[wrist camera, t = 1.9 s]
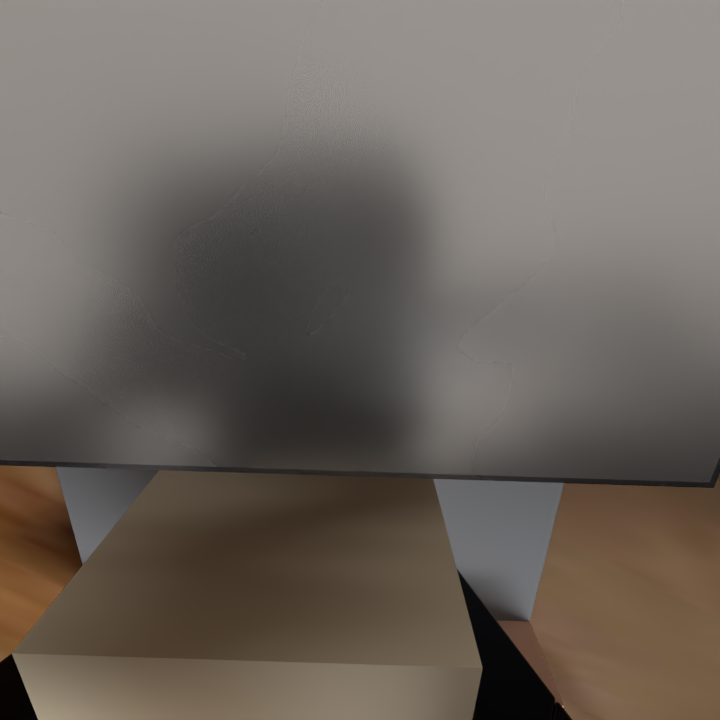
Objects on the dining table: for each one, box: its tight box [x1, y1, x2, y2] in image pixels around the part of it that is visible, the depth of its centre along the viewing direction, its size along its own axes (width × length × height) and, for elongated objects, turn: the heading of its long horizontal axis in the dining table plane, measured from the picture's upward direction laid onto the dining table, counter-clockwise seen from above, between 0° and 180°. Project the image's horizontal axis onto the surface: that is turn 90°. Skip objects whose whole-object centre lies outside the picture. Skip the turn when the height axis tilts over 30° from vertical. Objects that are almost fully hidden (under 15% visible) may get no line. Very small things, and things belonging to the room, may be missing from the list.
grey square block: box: [0, 0, 720, 488], centre depth 5 cm, size 8×4×5 cm, turn 88°
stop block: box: [12, 470, 483, 720], centre depth 7 cm, size 5×5×5 cm
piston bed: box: [56, 467, 564, 707], centre depth 8 cm, size 12×15×3 cm
